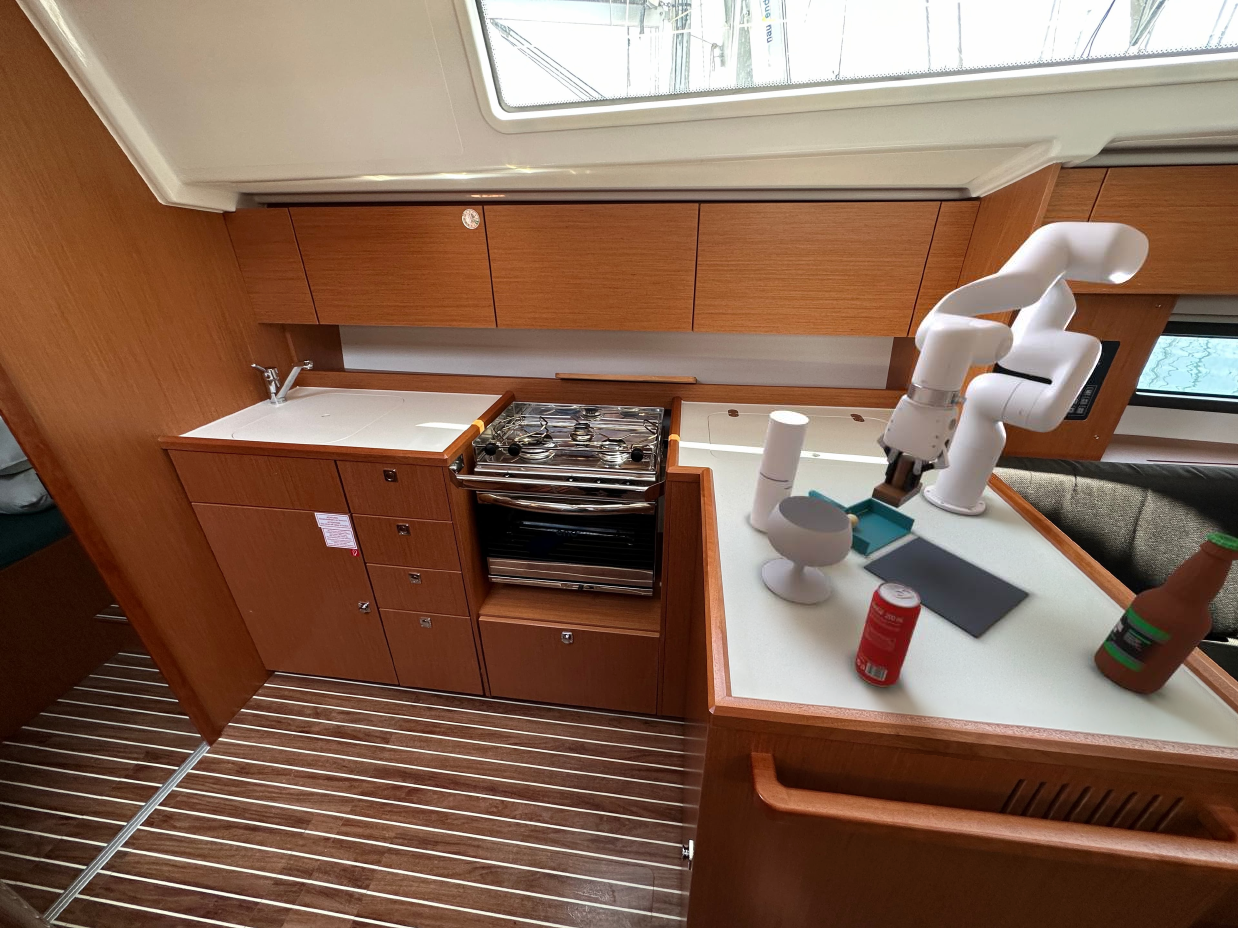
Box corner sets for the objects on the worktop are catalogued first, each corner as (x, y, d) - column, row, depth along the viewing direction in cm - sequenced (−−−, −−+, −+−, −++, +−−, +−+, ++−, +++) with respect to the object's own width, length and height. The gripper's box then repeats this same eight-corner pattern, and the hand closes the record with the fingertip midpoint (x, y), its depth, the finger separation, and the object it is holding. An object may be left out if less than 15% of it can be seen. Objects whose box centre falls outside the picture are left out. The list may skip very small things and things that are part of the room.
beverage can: (902, 692, 66) (938, 614, 60) (853, 683, 67) (883, 605, 61) (889, 659, 72) (921, 583, 65) (844, 651, 73) (871, 575, 66)
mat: (918, 537, 101) (918, 536, 100) (1028, 594, 86) (1029, 593, 86) (863, 567, 91) (863, 566, 91) (976, 637, 76) (977, 636, 76)
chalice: (741, 565, 90) (754, 499, 83) (799, 551, 95) (816, 487, 88) (789, 617, 78) (809, 544, 72) (853, 598, 83) (877, 528, 76)
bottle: (1095, 646, 75) (1187, 516, 64) (1159, 677, 70) (1272, 542, 59) (1087, 671, 71) (1185, 536, 59) (1156, 705, 66) (1276, 565, 55)
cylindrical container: (745, 514, 106) (765, 410, 95) (775, 513, 107) (799, 410, 95) (756, 533, 100) (778, 424, 88) (788, 532, 100) (815, 424, 89)
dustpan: (910, 532, 102) (915, 519, 101) (864, 556, 94) (869, 542, 93) (829, 490, 117) (832, 478, 116) (784, 507, 109) (787, 495, 108)
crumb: (849, 524, 104) (850, 511, 104) (861, 528, 102) (862, 515, 101) (839, 526, 103) (840, 513, 102) (851, 531, 100) (852, 517, 100)
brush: (893, 482, 97) (906, 446, 93) (919, 492, 93) (933, 455, 90) (870, 497, 91) (883, 459, 87) (897, 508, 88) (911, 470, 84)
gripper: (993, 406, 79) (953, 499, 87) (899, 379, 91) (871, 464, 99) (971, 413, 75) (932, 510, 83) (876, 384, 87) (850, 471, 96)
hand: (899, 484), depth 91 cm, fingers closed on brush, 3 cm apart
